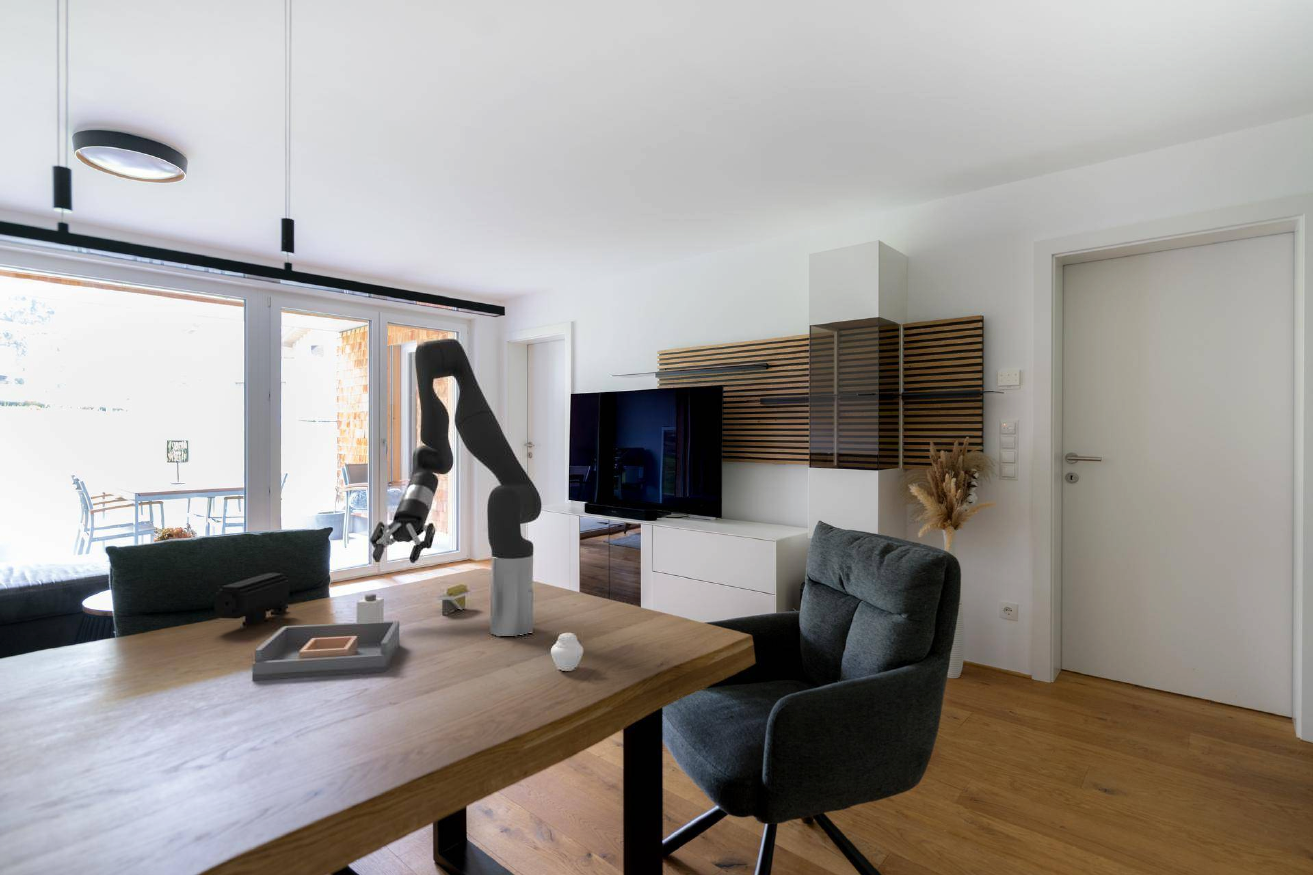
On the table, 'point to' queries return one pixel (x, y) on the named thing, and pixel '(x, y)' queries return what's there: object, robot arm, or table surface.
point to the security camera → (253, 598)
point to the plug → (370, 609)
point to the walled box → (327, 650)
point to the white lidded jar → (567, 651)
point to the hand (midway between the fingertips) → (394, 560)
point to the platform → (454, 598)
